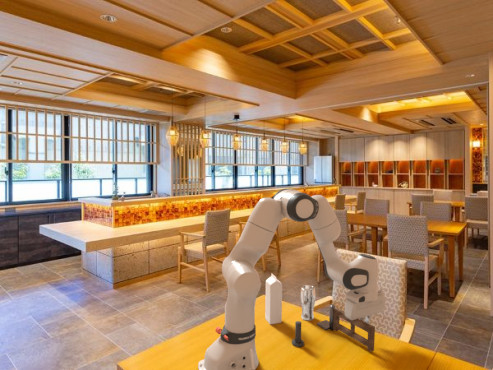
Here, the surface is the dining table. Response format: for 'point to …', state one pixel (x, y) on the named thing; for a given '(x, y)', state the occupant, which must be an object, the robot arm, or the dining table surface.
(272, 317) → the milk
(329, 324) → the hinge post
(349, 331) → the gate
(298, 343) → the post
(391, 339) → the dining table surface
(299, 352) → the dining table surface
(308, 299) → the beer glass
